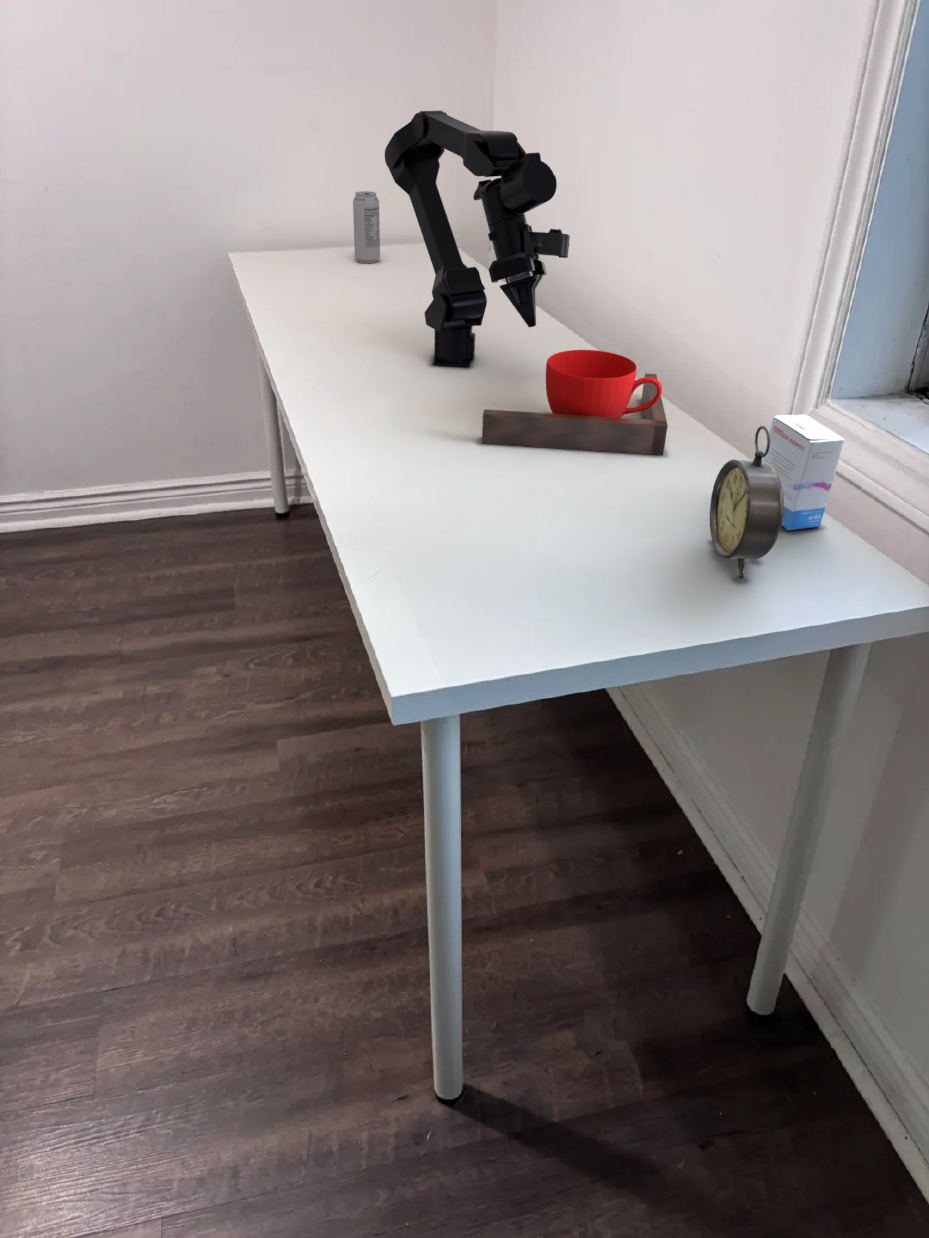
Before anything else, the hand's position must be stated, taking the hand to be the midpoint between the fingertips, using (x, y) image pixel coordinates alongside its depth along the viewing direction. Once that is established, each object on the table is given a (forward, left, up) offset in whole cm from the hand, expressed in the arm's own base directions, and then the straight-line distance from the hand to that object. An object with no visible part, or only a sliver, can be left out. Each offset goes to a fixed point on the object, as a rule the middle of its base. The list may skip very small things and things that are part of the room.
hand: (532, 326), depth 146 cm
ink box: (+34, -37, -11) cm, 51 cm away
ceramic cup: (+11, -13, -11) cm, 20 cm away
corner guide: (+7, -10, -11) cm, 16 cm away
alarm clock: (+26, -50, -11) cm, 57 cm away
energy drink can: (-42, +85, -11) cm, 96 cm away
